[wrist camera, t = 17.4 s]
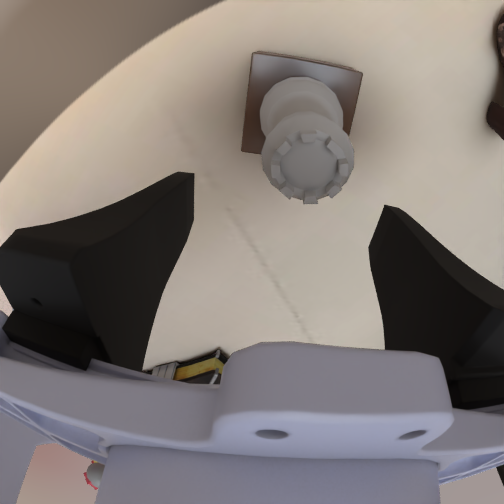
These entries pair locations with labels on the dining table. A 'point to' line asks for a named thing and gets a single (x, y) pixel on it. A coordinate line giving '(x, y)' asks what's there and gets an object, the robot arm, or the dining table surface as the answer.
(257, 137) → the riser
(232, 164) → the dining table surface
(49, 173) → the dining table surface
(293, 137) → the rook chess piece
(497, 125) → the heeled mule
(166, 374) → the book
